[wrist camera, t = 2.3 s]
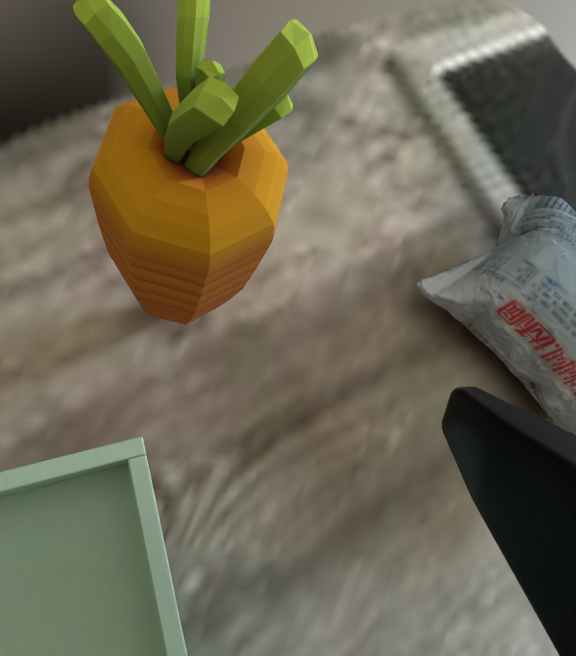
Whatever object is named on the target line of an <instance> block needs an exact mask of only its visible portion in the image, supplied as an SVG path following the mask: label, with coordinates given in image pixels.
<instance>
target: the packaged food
mask: <svg viewBox="0 0 576 656" xmlns="http://www.w3.org/2000/svg"><path fill="white" fill-rule="evenodd" d="M501 210H502V211H503V214H504V219H503V225H502V227H501V232H500V235H499V239H498V242H497V245H496V247H495V248H494V249H493V250H492V251H490V252H488V253H485V254H483V255H480V256H478V257H476V258H474V259H471V260H469V261H467V262H465V263H464V264H461V265H459V266H456V267H454V268H453V269H450V270H447V271H444V272H443V273H438V274H436V275H433V276H430V277H429V278H427V279H421V281H419V282H417V283H416V285H417V287H418V289H419V290H420V292H421V293H422V294H423V296H424V297H427V298H429V300H431V301H433V302H434V303H436V304H437V305H438V306H440V307H442V308H444V309H445V310H447V311H448V312H450V314H451V315H452V316H453V317H454V318H455V319H457V320H458V321H460V322H461V323H462V324H463V325H464V326H465V327H466V328H467V329H468V330H469V331H470V332H471V333H472V334H473V335H475V336H476V337H477V338H478V339H479V340H480V341H481V342H483V343H484V344H485V345H486V346H487V347H488V348H490V349H491V350H492V351H493V352H494V353H495V354H496V355H497V356H498V357H499V358H500V359H501V360H502V361H503V362H504V363H505V365H506V366H507V367H508V368H509V370H510V371H511V372H512V373H513V374H514V375H515V376H516V377H517V379H518V380H519V381H520V382H521V383H522V384H523V385H524V387H525V388H526V389H527V390H528V391H529V392H530V393H531V394H532V396H533V397H534V398H535V399H536V400H537V401H538V403H539V404H540V405H541V407H542V408H543V409H544V411H545V412H546V413H547V414H548V415H549V417H550V418H551V419H552V420H553V422H554V423H555V424H556V425H557V426H558V427H559V428H562V429H564V430H566V431H568V432H570V433H572V434H574V435H576V211H575V210H574V209H573V208H571V207H570V206H569V205H568V204H567V203H566V202H565V201H564V200H563V199H561V198H559V197H554V196H543V195H541V194H539V195H536V194H534V193H532V195H531V196H528V197H523V198H521V196H520V195H518V196H515V197H510V198H508V199H507V201H506V202H505V203H503V206H502V208H501Z"/></svg>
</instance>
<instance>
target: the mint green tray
mask: <svg viewBox="0 0 576 656" xmlns="http://www.w3.org/2000/svg"><path fill="white" fill-rule="evenodd" d="M0 656H188V655H187V650H186V645H185V641H184V636H183V631H182V626H181V621H180V616H179V611H178V606H177V602H176V597H175V592H174V587H173V582H172V577H171V572H170V567H169V563H168V558H167V553H166V548H165V543H164V538H163V533H162V528H161V524H160V519H159V514H158V509H157V504H156V499H155V494H154V489H153V485H152V480H151V475H150V470H149V465H148V460H147V456H146V450H145V446H144V441H143V438H142V437H138V438H134V439H130V440H126V441H122V442H118V443H114V444H110V445H106V446H102V447H98V448H94V449H90V450H86V451H82V452H78V453H74V454H70V455H66V456H62V457H58V458H54V459H50V460H46V461H42V462H38V463H34V464H30V465H26V466H22V467H18V468H14V469H10V470H6V471H2V472H0Z"/></svg>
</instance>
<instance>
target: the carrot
mask: <svg viewBox="0 0 576 656" xmlns="http://www.w3.org/2000/svg"><path fill="white" fill-rule="evenodd" d="M73 9H74V11H75V14H76V16H77V18H78V19H79V21H80V22H81V23H82V25H83V26H84V28H85V29H86V30H87V32H88V33H89V35H90V36H91V37H92V38H93V40H94V41H95V42H96V43H97V44H98V46H99V47H100V48H101V49H102V50H103V52H104V53H105V54H106V55H107V56H108V58H109V59H110V60H111V62H112V63H113V65H114V66H115V68H116V69H117V71H118V72H119V74H120V75H121V77H122V78H123V80H124V81H125V83H126V84H127V86H128V87H129V89H130V90H131V92H132V93H133V95H134V96H135V98H136V99H135V100H132V101H129V102H126V103H123V104H121V105H118V106H116V107H115V110H114V112H113V115H112V118H111V120H110V123H109V125H108V128H107V131H106V133H105V136H104V139H103V141H102V144H101V146H100V149H99V152H98V154H97V157H96V160H95V162H94V165H93V167H92V170H91V173H90V176H89V189H90V193H91V197H92V201H93V205H94V208H95V212H96V216H97V220H98V224H99V227H100V230H101V233H102V236H103V239H104V242H105V245H106V248H107V251H108V253H109V254H110V256H111V258H112V259H113V261H114V263H115V264H116V266H117V268H118V269H119V271H120V272H121V274H122V276H123V277H124V279H125V281H126V282H127V284H128V286H129V287H130V289H131V290H132V292H133V294H134V295H135V297H136V299H137V300H138V302H139V303H140V305H141V307H142V308H143V309H144V311H145V312H146V313H147V314H148V315H150V316H154V317H158V318H162V319H166V320H170V321H173V322H177V323H181V324H185V325H186V324H188V323H189V322H191V321H193V320H195V319H197V318H199V317H201V316H203V315H204V314H206V313H208V312H210V311H212V310H214V309H216V308H217V307H219V306H220V305H222V304H223V303H225V302H227V301H228V300H230V299H231V298H232V297H233V296H234V295H236V294H237V293H238V292H239V291H240V290H242V289H243V287H244V286H245V284H246V283H247V281H248V280H249V278H250V277H251V275H252V274H253V273H254V271H255V270H256V268H257V266H258V265H259V263H260V261H261V260H262V258H263V256H264V254H265V253H266V251H267V249H268V248H269V246H270V244H271V242H272V240H273V236H274V232H275V228H276V223H277V219H278V215H279V210H280V206H281V202H282V197H283V193H284V188H285V184H286V180H287V175H288V163H287V161H286V160H285V158H284V157H283V155H282V154H281V152H280V151H279V149H278V148H277V146H276V145H275V143H274V142H273V140H272V139H271V137H270V136H269V134H268V133H267V131H266V130H265V129H264V128H266V127H267V126H269V125H271V124H272V123H274V122H276V121H278V120H279V119H281V118H282V117H284V116H285V115H287V114H288V113H289V112H291V111H292V108H293V104H292V102H291V100H290V98H289V96H288V93H289V92H290V91H291V90H292V88H293V87H294V86H295V85H296V83H297V82H298V81H299V80H300V79H301V77H302V76H303V75H304V74H305V72H306V71H307V70H308V69H309V68H310V66H311V65H312V64H313V63H314V61H315V60H316V58H317V57H318V53H317V50H316V47H315V44H314V41H313V38H312V35H311V33H310V32H309V31H308V30H307V29H306V28H305V27H304V26H303V25H302V24H301V23H300V22H299V21H298V20H297V19H293V20H290V21H289V22H288V23H287V24H286V26H285V27H284V28H283V29H282V30H281V31H280V32H279V34H278V35H277V36H276V37H275V38H274V39H273V40H272V41H271V42H270V44H269V45H268V46H267V47H266V48H265V49H264V50H263V51H262V52H261V54H260V55H259V56H258V57H257V58H256V60H255V61H254V62H253V64H252V65H251V66H250V68H249V69H248V70H247V72H246V73H245V74H244V76H243V77H242V78H241V80H240V81H239V82H238V84H237V85H236V86H235V88H234V89H233V90H232V88H231V87H230V86H229V85H228V84H226V83H224V77H225V72H224V70H223V68H222V67H221V65H220V64H219V63H217V62H215V61H213V60H204V53H205V46H206V37H207V30H208V29H207V28H208V22H209V12H210V0H178V7H177V43H176V81H177V85H176V86H173V87H170V88H167V89H165V90H163V88H162V85H161V83H160V81H159V79H158V77H157V75H156V72H155V71H154V68H153V66H152V64H151V61H150V59H149V57H148V55H147V53H146V50H145V48H144V46H143V44H142V42H141V40H140V39H139V37H138V35H137V34H136V33H135V31H134V30H133V28H132V27H131V25H130V24H129V22H128V21H127V20H126V18H125V16H124V15H123V13H122V12H121V11H120V10H119V9H118V8H117V7H116V6H115V5H114V4H113V3H112V2H111V1H110V0H77V1H76V3H75V4H74V6H73Z"/></svg>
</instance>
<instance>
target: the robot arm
mask: <svg viewBox="0 0 576 656" xmlns="http://www.w3.org/2000/svg"><path fill="white" fill-rule="evenodd" d="M442 429H443V433H444V436H445V438H446V440H447V443H448V445H449V447H450V449H451V452H452V454H453V456H454V459H455V461H456V463H457V465H458V468H459V470H460V472H461V475H462V477H463V479H464V482H465V484H466V486H467V488H468V491H469V493H470V495H471V497H472V499H473V501H474V503H475V505H476V507H477V509H478V511H479V512H480V514H481V516H482V518H483V519H484V521H485V523H486V525H487V527H488V528H489V530H490V532H491V534H492V536H493V537H494V539H495V541H496V543H497V545H498V546H499V548H500V550H501V552H502V553H503V555H504V557H505V559H506V561H507V562H508V564H509V566H510V568H511V570H512V571H513V573H514V575H515V577H516V578H517V580H518V582H519V584H520V586H521V587H522V589H523V591H524V593H525V595H526V596H527V598H528V600H529V602H530V604H531V605H532V607H533V609H534V611H535V612H536V614H537V616H538V618H539V620H540V621H541V623H542V625H543V627H544V629H545V630H546V632H547V634H548V636H549V637H550V639H551V641H552V643H553V645H554V646H555V648H556V650H557V652H558V654H559V655H560V656H576V435H574V434H572V433H570V432H568V431H566V430H564V429H562V428H559V427H557V426H555V425H553V424H551V423H549V422H547V421H545V420H543V419H541V418H539V417H537V416H535V415H532V414H530V413H528V412H526V411H524V410H522V409H520V408H518V407H516V406H514V405H512V404H510V403H508V402H506V401H503V400H501V399H499V398H497V397H495V396H493V395H491V394H489V393H487V392H485V391H483V390H481V389H479V388H476V387H458V388H456V389H454V390H453V391H452V392H451V395H450V398H449V401H448V404H447V407H446V410H445V413H444V416H443V420H442Z"/></svg>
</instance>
